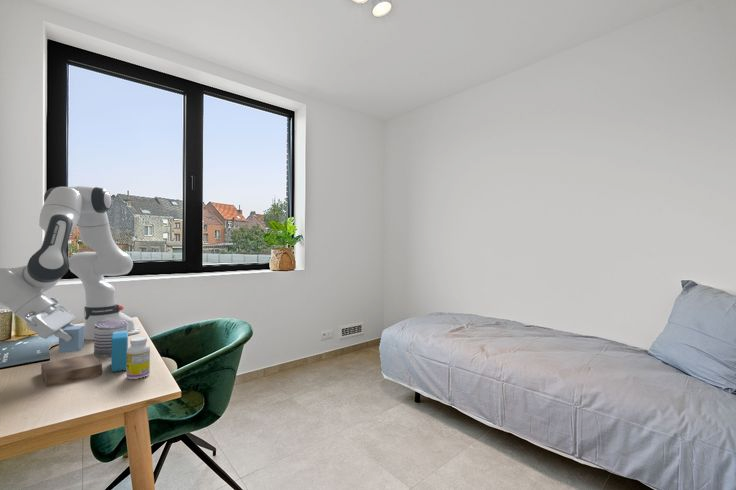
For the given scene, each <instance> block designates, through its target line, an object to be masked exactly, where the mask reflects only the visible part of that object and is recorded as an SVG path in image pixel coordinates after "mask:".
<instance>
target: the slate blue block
mask: <svg viewBox="0 0 736 490" xmlns="http://www.w3.org/2000/svg"><path fill="white" fill-rule="evenodd" d="M62 330H63V331H64V332H66V333H67V334H71V335H72V336H73V338H72V339H71V340H70V341H68V342H67V341H65V340H64V339H62V338H59V337H58V354H63V353H64V354H65V353H73V352H74V353H76V352H80V351H81V350H82V349H83V348H84V345H85V344H84V342H85V339H84V325H74V326H66V327H64V328H62Z"/></svg>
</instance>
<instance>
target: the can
mask: <svg viewBox="0 0 736 490" xmlns="http://www.w3.org/2000/svg"><path fill="white" fill-rule="evenodd" d="M128 324H129V322H127V321H124V320H106V321H99V322H97V323H95V324H93V325H95V327H94V342H93V343H94V345H93V351H94V352H93V354H94V356H95V357H96V356H97V357H112V336H113V332H116V331H125V330H128Z"/></svg>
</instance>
